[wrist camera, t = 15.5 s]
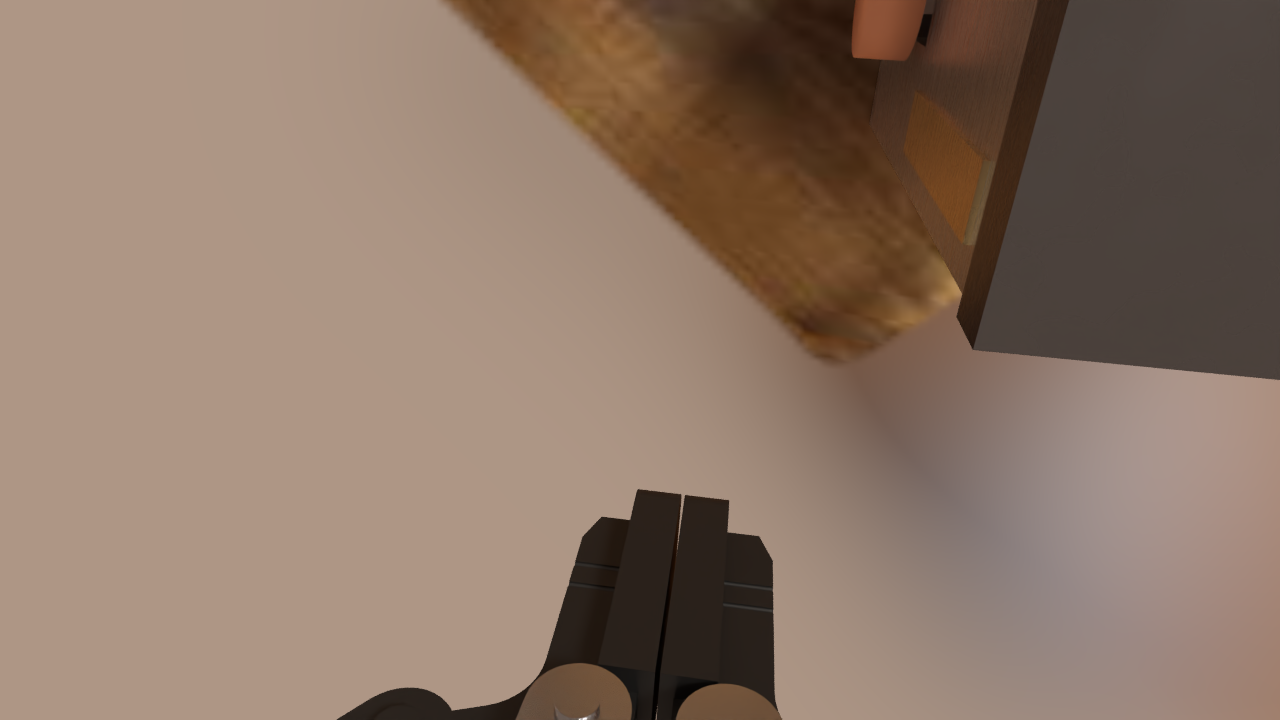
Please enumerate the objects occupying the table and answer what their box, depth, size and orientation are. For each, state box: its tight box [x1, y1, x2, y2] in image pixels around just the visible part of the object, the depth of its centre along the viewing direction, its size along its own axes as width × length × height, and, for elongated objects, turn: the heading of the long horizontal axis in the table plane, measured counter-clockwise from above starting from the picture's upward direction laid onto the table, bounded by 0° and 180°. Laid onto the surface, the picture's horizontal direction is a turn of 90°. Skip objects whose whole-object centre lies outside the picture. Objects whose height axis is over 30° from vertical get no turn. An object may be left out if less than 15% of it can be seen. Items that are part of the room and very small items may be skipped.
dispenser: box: [869, 0, 1280, 380], centre depth 28 cm, size 13×15×26 cm
